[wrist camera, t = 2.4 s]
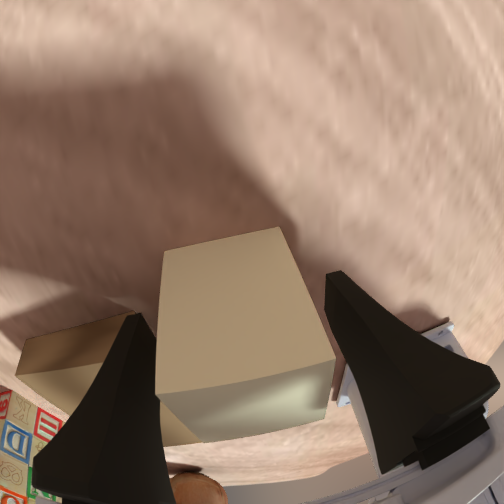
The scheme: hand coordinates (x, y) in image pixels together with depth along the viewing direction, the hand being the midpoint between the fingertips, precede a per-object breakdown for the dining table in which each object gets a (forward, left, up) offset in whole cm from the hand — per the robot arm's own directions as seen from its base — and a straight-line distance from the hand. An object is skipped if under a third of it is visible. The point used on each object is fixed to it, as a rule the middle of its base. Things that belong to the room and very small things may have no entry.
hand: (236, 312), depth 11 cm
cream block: (0, 0, -2) cm, 2 cm away
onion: (+13, +35, -2) cm, 37 cm away
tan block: (+8, +7, -2) cm, 11 cm away
